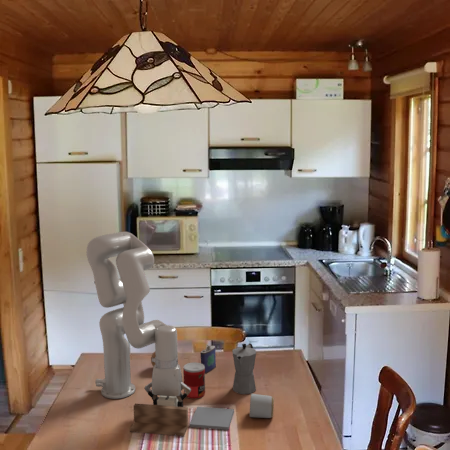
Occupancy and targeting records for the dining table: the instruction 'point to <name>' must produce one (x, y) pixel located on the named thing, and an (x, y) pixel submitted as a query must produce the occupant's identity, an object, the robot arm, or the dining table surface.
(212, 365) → the flask
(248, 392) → the coffeepot
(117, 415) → the dining table surface
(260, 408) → the ceramic mug
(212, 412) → the slate mat
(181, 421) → the walnut screen
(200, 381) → the canned food
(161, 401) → the marked cube
